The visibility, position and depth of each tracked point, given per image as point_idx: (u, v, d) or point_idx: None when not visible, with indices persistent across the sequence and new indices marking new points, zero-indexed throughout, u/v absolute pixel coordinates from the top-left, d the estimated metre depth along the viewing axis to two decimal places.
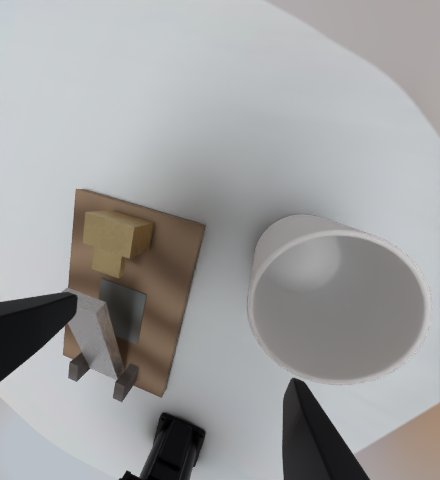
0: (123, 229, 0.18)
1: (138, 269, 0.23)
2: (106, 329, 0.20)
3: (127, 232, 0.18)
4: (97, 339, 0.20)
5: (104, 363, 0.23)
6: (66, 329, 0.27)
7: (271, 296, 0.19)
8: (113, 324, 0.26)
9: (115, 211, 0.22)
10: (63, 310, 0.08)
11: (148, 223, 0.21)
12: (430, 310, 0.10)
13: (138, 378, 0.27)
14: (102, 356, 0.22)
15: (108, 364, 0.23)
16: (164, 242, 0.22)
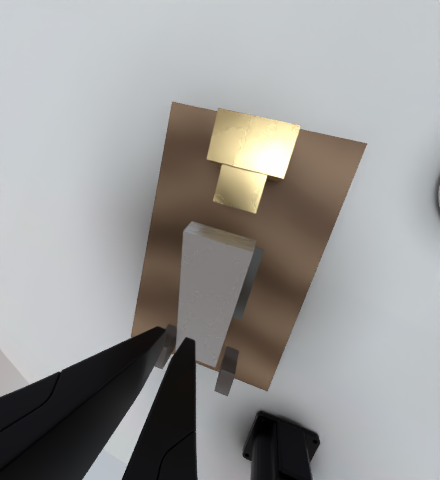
0: (280, 130, 0.12)
1: (255, 214, 0.17)
2: None
3: (287, 135, 0.12)
4: (222, 303, 0.14)
5: (208, 343, 0.17)
6: (139, 302, 0.21)
7: None
8: None
9: None
10: (158, 348, 0.07)
11: None
12: None
13: (236, 366, 0.20)
14: (212, 332, 0.16)
15: (215, 343, 0.17)
16: (302, 172, 0.16)
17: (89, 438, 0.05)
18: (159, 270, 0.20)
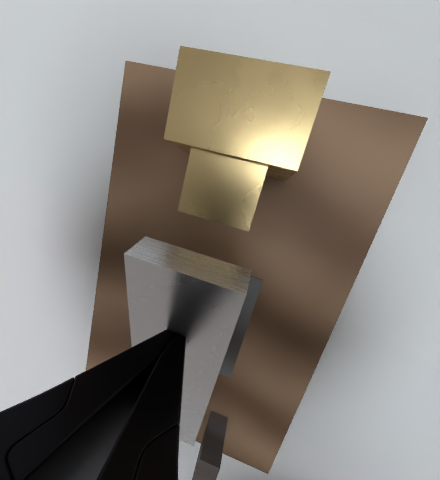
0: (292, 83, 0.07)
1: None
2: None
3: (304, 91, 0.07)
4: (198, 367, 0.09)
5: None
6: (91, 346, 0.15)
7: None
8: None
9: None
10: None
11: None
12: None
13: (224, 437, 0.14)
14: (185, 404, 0.11)
15: (191, 418, 0.11)
16: (321, 165, 0.10)
17: (103, 445, 0.05)
18: (116, 303, 0.14)
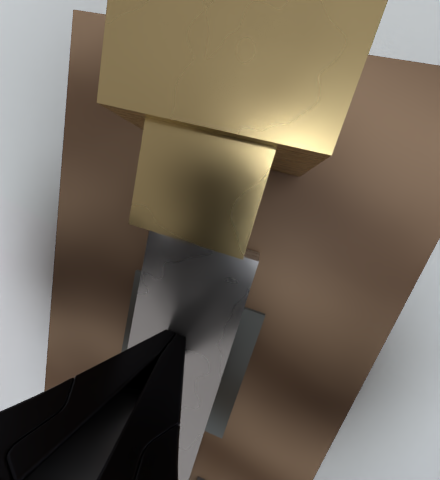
0: None
1: None
2: None
3: None
4: (200, 368, 0.08)
5: None
6: (48, 388, 0.12)
7: None
8: None
9: None
10: None
11: None
12: None
13: None
14: None
15: (179, 465, 0.09)
16: (351, 154, 0.07)
17: (102, 445, 0.05)
18: (75, 337, 0.11)
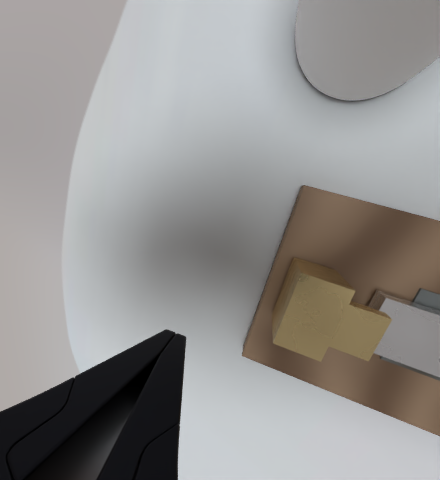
0: (303, 291, 0.12)
1: (369, 294, 0.15)
2: (436, 312, 0.13)
3: (309, 285, 0.12)
4: None
5: None
6: None
7: None
8: None
9: (274, 309, 0.16)
10: None
11: (294, 261, 0.14)
12: None
13: None
14: None
15: None
16: (325, 245, 0.15)
17: (103, 445, 0.05)
18: (432, 412, 0.16)
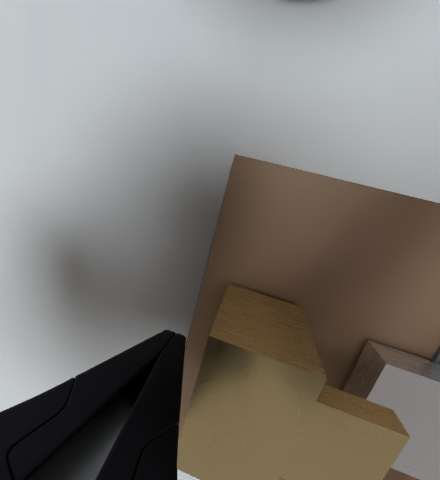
0: (217, 373, 0.06)
1: (355, 345, 0.09)
2: None
3: (227, 362, 0.05)
4: None
5: None
6: None
7: None
8: None
9: None
10: None
11: (224, 295, 0.08)
12: None
13: None
14: None
15: None
16: (278, 261, 0.08)
17: (103, 445, 0.05)
18: None
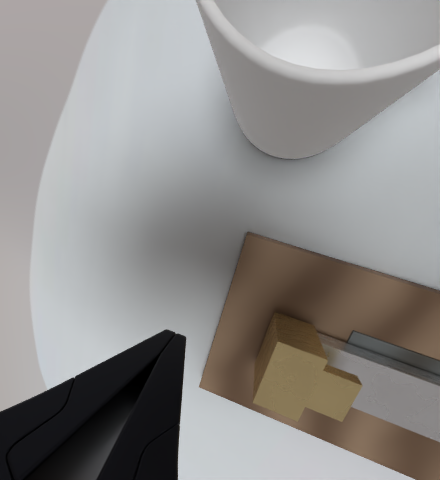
0: (280, 357, 0.13)
1: None
2: (364, 354, 0.14)
3: (285, 353, 0.12)
4: (385, 378, 0.14)
5: None
6: (416, 477, 0.17)
7: None
8: None
9: (256, 359, 0.17)
10: None
11: (274, 319, 0.15)
12: None
13: None
14: None
15: None
16: (268, 289, 0.16)
17: (103, 445, 0.05)
18: (369, 441, 0.17)
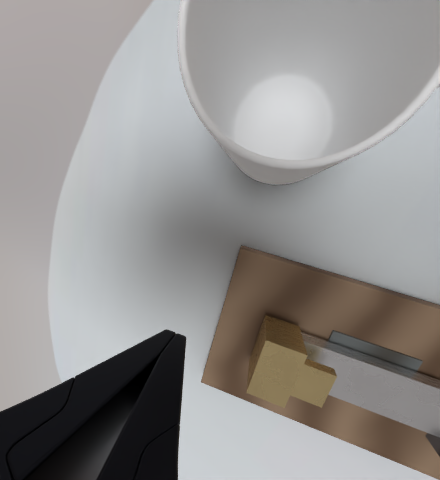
0: (268, 353, 0.15)
1: None
2: (342, 350, 0.17)
3: (272, 350, 0.15)
4: (359, 370, 0.16)
5: (434, 402, 0.16)
6: (392, 458, 0.19)
7: (331, 154, 0.13)
8: None
9: (250, 356, 0.19)
10: None
11: (265, 321, 0.17)
12: None
13: None
14: (410, 392, 0.16)
15: (433, 394, 0.16)
16: (260, 295, 0.18)
17: (103, 445, 0.05)
18: (351, 427, 0.19)
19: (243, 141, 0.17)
